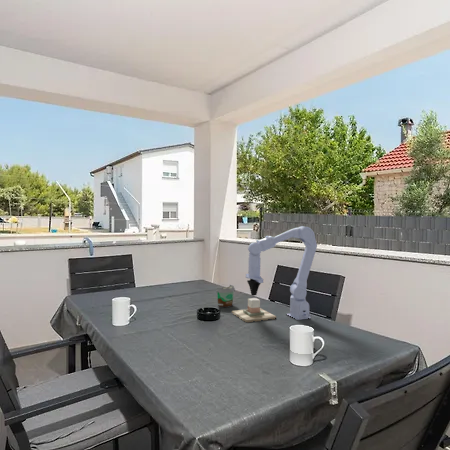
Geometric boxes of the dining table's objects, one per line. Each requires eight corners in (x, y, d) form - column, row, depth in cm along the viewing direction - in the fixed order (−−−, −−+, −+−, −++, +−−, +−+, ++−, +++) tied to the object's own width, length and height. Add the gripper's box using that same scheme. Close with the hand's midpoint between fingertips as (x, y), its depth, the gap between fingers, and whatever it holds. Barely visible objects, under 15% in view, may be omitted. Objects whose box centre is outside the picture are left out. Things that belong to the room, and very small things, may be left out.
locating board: (276, 318, 171) (276, 313, 171) (246, 322, 165) (246, 317, 165) (260, 310, 186) (260, 305, 186) (231, 313, 179) (231, 308, 179)
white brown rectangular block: (259, 314, 174) (260, 300, 173) (251, 315, 172) (251, 300, 172) (255, 312, 178) (256, 297, 178) (247, 312, 176) (247, 298, 176)
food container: (225, 309, 187) (225, 289, 187) (216, 307, 191) (216, 288, 190) (239, 304, 197) (239, 286, 196) (230, 302, 201) (230, 284, 200)
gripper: (240, 265, 179) (240, 292, 180) (254, 270, 166) (253, 299, 167) (253, 264, 182) (252, 291, 183) (267, 269, 169) (266, 297, 169)
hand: (253, 295), depth 175 cm, fingers closed
